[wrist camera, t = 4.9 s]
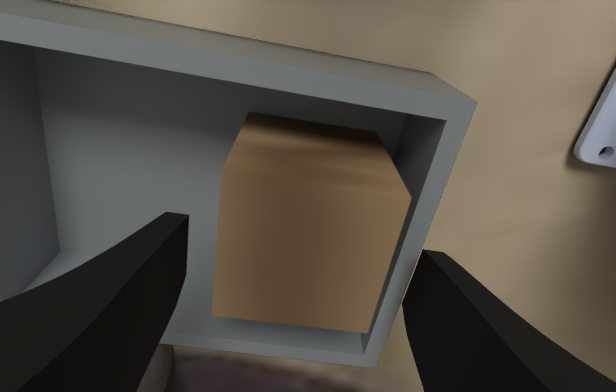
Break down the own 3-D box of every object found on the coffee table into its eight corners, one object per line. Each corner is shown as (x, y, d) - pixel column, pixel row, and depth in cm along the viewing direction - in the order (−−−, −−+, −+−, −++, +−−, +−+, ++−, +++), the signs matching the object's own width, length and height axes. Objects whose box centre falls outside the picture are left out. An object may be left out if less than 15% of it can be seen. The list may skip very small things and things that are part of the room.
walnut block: (376, 131, 14) (411, 198, 9) (349, 237, 16) (367, 333, 11) (248, 111, 13) (221, 170, 9) (238, 222, 15) (211, 315, 11)
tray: (431, 72, 13) (477, 101, 10) (361, 294, 18) (375, 368, 14) (18, -6, 12) (-101, -7, 9) (55, 253, 17) (-13, 323, 13)
